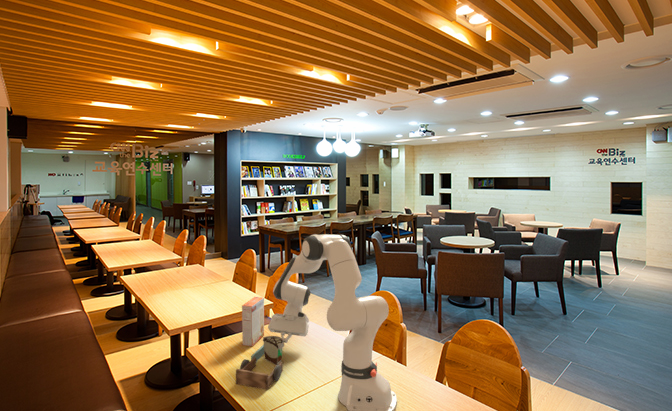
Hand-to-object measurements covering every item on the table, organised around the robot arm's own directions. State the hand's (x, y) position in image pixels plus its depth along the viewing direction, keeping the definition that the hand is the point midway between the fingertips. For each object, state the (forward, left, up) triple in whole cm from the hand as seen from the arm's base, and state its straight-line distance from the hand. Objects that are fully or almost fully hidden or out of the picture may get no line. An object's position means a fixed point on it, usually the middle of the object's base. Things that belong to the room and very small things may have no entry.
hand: (283, 342), depth 174 cm
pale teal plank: (+8, +9, -5) cm, 13 cm away
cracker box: (+20, -7, -5) cm, 22 cm away
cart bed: (0, +23, -5) cm, 24 cm away
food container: (0, +8, -5) cm, 10 cm away
